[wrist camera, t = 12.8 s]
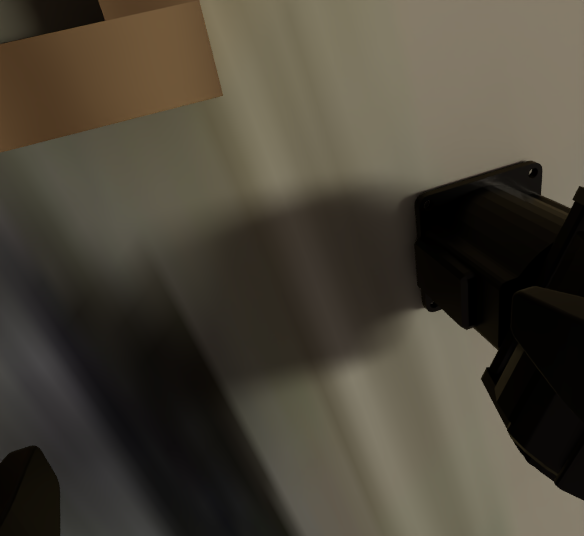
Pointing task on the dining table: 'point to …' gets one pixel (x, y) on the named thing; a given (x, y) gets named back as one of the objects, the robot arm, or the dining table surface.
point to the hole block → (105, 71)
